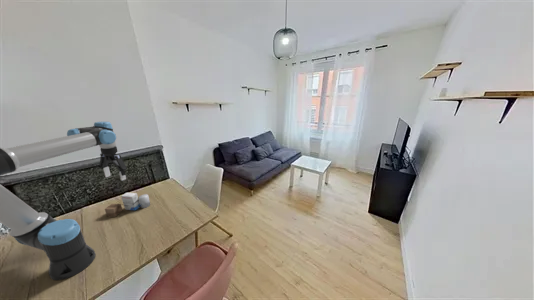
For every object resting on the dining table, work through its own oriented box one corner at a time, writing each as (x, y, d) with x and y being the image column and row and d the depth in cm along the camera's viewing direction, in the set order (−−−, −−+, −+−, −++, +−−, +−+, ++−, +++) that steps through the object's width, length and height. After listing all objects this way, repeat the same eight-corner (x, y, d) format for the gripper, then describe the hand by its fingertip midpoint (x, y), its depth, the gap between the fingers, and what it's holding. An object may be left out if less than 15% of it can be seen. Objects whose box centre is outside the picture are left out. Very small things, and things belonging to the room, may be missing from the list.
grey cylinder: (145, 208, 125) (142, 199, 122) (138, 207, 126) (136, 198, 124) (152, 204, 130) (150, 195, 128) (146, 202, 132) (143, 193, 129)
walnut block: (115, 216, 117) (113, 209, 115) (106, 216, 117) (104, 209, 115) (122, 210, 122) (120, 203, 120) (114, 210, 122) (112, 203, 120)
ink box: (140, 206, 127) (137, 192, 124) (135, 210, 123) (131, 196, 119) (130, 205, 128) (126, 191, 124) (124, 209, 123) (120, 195, 120)
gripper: (129, 147, 106) (136, 178, 112) (100, 143, 112) (108, 173, 118) (116, 150, 99) (124, 183, 105) (86, 146, 105) (95, 177, 111)
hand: (115, 178), depth 111 cm, fingers open, 13 cm apart
